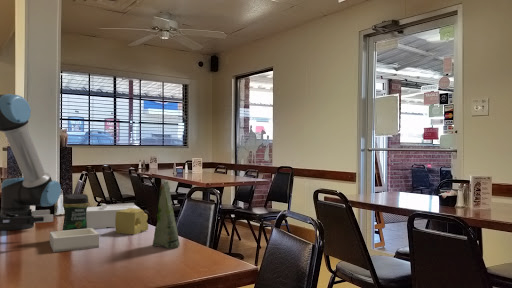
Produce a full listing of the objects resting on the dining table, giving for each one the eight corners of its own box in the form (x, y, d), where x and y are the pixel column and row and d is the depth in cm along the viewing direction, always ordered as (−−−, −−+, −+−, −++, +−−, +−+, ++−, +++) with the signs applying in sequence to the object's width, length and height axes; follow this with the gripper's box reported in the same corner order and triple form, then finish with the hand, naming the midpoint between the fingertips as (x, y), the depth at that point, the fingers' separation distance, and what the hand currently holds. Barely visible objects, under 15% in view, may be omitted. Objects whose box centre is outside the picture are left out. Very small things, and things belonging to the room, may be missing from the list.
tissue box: (82, 225, 200) (82, 202, 200) (134, 221, 211) (134, 200, 211) (84, 230, 187) (85, 206, 187) (140, 226, 198) (140, 203, 199)
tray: (49, 244, 157) (50, 231, 157) (92, 240, 165) (92, 228, 165) (53, 252, 145) (53, 238, 146) (98, 247, 154) (99, 234, 154)
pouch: (161, 251, 149) (162, 183, 149) (143, 246, 157) (145, 181, 157) (186, 246, 157) (187, 181, 157) (168, 241, 165) (169, 179, 165)
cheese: (148, 231, 186) (148, 209, 186) (134, 235, 176) (134, 212, 176) (129, 229, 189) (129, 207, 189) (114, 233, 179) (114, 210, 179)
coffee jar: (64, 242, 160) (65, 195, 161) (60, 239, 167) (61, 193, 167) (89, 239, 166) (90, 194, 166) (85, 236, 172) (85, 192, 173)
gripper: (-12, 224, 161) (48, 220, 172) (-14, 236, 140) (54, 230, 151) (-12, 205, 161) (48, 202, 172) (-14, 214, 140) (54, 210, 151)
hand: (51, 215), depth 162 cm, fingers open, 13 cm apart
